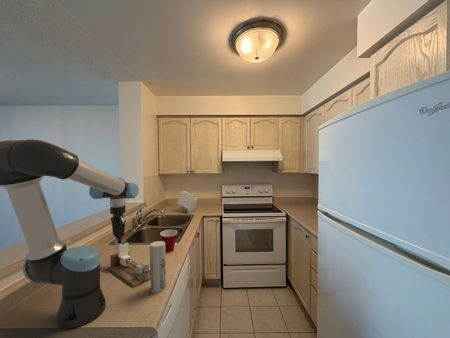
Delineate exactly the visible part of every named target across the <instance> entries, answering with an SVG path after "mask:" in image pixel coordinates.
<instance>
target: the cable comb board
mask: <svg viewBox="0 0 450 338" xmlns="http://www.w3.org/2000/svg"><path fill="white" fill-rule="evenodd" d="M128 255H129V256H130V253H129V254H128ZM126 262H127V263H128V264H129V265H126V266H123V265H122V264H120V258H119V257H118V253H114V254H112V255H110V266H108V267H107V271H109V272H110V273H112V274H113V275H114V276H116V277H117V278H119V279H120V280H121V281H123V282H124V283H126V284H127V285H129V286H131V287H132V288H136V287H138V286H140V285H142V284H145V283H146V282H149V281H151V270H150V263H147V262H146V261H144V262H140V263H138V262H135V261H133V260H132V259H131V261H130V260H128V259H127V260H126Z"/></svg>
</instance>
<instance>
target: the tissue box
mask: <svg viewBox="0 0 450 338" xmlns="http://www.w3.org/2000/svg"><path fill="white" fill-rule="evenodd" d="M177 200H178V201H177V205H179V206H181V207H180V209H181V210H182V212H183V213H185V212H186V213H187V214H191V213H193V212H194V210H195V209H196V207H197V204H198V200H199V197H197V196H195V195H192V194H191V193H190V192H188V191H187V190H185V189H183V190H181V191H180V194H179V197H178V199H177Z"/></svg>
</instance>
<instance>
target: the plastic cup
mask: <svg viewBox="0 0 450 338" xmlns="http://www.w3.org/2000/svg"><path fill="white" fill-rule="evenodd" d="M159 234H160V237H161V241H163V242H165V253H171V252H174V250H175V245H176V237H177V234H178V231H177V230H176V229H165V230H161V231H160V233H159Z"/></svg>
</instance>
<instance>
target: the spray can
mask: <svg viewBox="0 0 450 338" xmlns="http://www.w3.org/2000/svg"><path fill="white" fill-rule="evenodd" d="M149 260H150V261H149V270H151V280H150V291H151V292H152V293H153V294H154V293H155V294H156V293H157V294H158V293H162V292H163V291H165V290H166V287H167V283H166V282H167V276H166V275H167V272H166V271H167V270H166V268H167V267H166V265H167V264H166V252H165V242H163V241H162V240H160V241H159V240H158V241H153V242H151V243H150V244H149Z"/></svg>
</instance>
